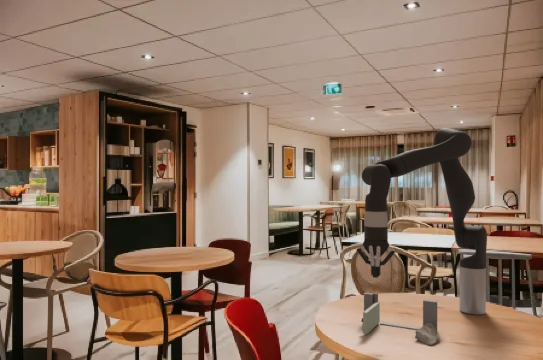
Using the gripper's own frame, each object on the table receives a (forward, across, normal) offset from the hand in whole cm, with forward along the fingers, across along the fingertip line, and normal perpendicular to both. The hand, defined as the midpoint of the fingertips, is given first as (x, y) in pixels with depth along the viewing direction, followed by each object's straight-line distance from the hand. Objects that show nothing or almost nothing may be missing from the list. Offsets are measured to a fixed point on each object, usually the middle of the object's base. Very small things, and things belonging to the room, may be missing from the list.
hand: (375, 277), depth 140 cm
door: (+18, -3, +3) cm, 19 cm away
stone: (+19, +16, +3) cm, 25 cm away
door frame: (+19, +7, +11) cm, 22 cm away
